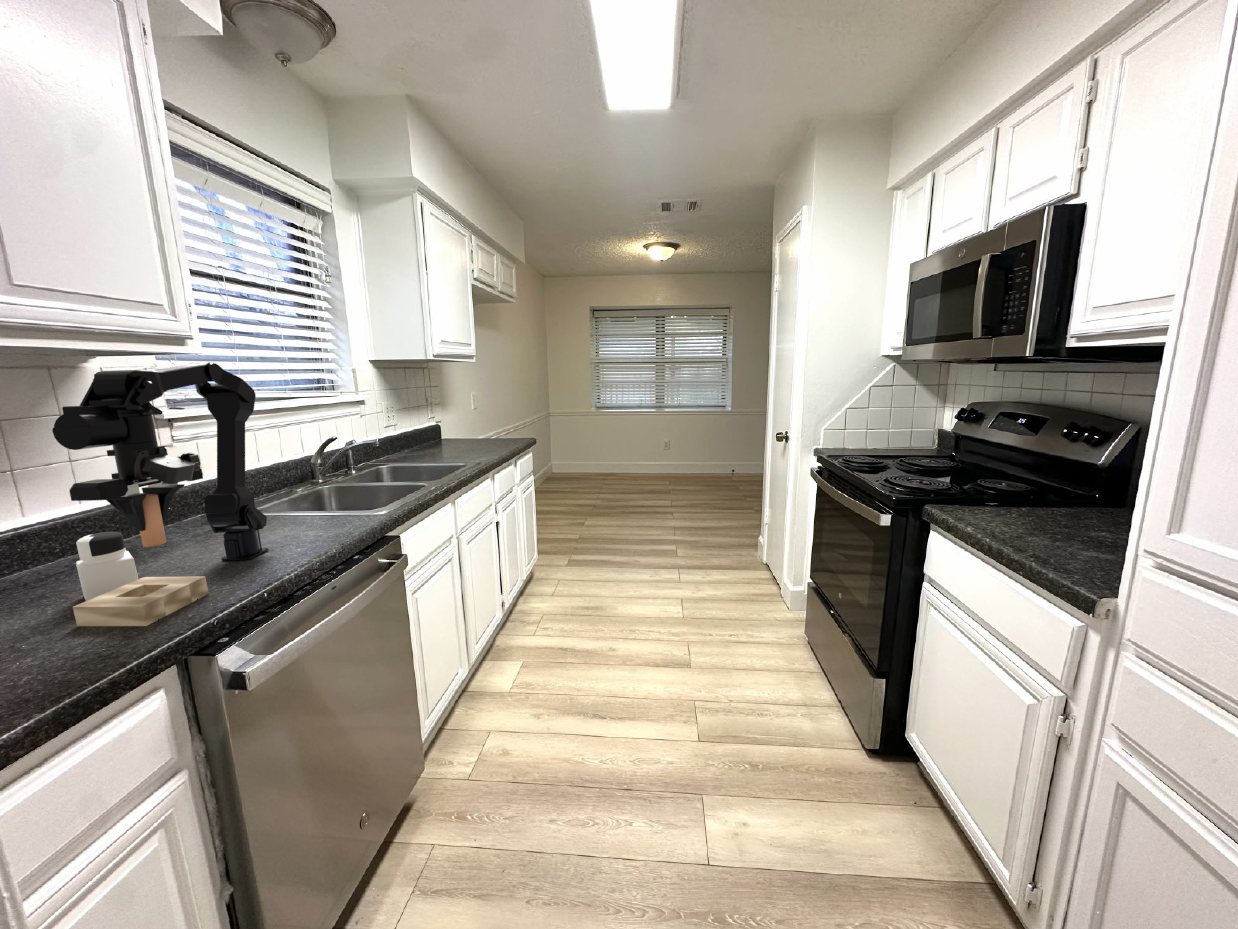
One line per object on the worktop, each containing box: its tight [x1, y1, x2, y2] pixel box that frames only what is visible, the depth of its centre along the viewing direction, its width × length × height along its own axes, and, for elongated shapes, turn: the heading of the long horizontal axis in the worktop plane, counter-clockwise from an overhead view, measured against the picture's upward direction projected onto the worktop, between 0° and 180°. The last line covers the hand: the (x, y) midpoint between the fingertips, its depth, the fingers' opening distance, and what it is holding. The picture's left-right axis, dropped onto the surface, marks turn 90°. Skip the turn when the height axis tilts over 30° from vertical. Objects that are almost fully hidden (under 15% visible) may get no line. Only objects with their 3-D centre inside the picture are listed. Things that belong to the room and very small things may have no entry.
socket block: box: [72, 575, 209, 627], centre depth 87 cm, size 12×12×4 cm
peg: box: [139, 494, 167, 548], centre depth 90 cm, size 3×3×9 cm
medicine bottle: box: [75, 531, 139, 601], centre depth 93 cm, size 7×7×12 cm
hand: (151, 527), depth 90 cm, fingers closed on peg, 3 cm apart
